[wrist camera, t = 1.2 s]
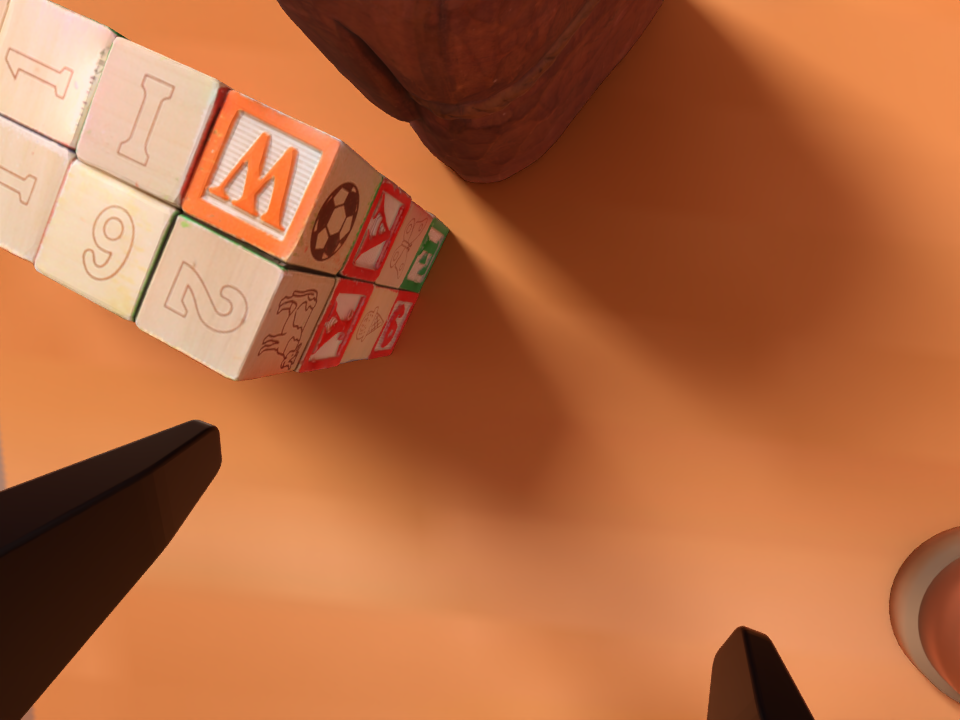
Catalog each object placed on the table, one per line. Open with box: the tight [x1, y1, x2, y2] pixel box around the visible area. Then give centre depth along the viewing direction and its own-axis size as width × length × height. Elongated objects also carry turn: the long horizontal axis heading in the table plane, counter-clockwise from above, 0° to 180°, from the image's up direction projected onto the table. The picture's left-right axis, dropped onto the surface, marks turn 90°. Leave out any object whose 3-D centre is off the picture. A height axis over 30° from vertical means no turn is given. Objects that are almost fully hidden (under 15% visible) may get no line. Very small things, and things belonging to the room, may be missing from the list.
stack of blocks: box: [0, 0, 449, 381], centre depth 21 cm, size 21×6×12 cm, turn 63°
